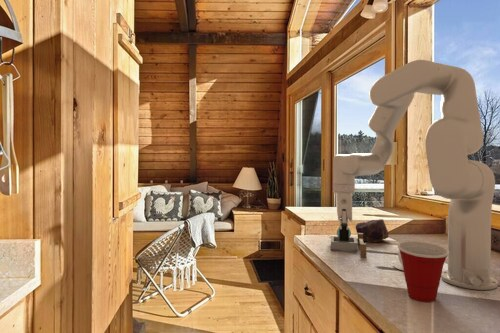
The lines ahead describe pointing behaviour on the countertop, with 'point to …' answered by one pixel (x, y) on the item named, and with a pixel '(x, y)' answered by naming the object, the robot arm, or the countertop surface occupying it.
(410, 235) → the countertop surface
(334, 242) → the dish
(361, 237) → the rail
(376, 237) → the rock
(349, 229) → the ball
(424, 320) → the countertop surface
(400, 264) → the teacup
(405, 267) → the plastic cup
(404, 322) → the countertop surface
